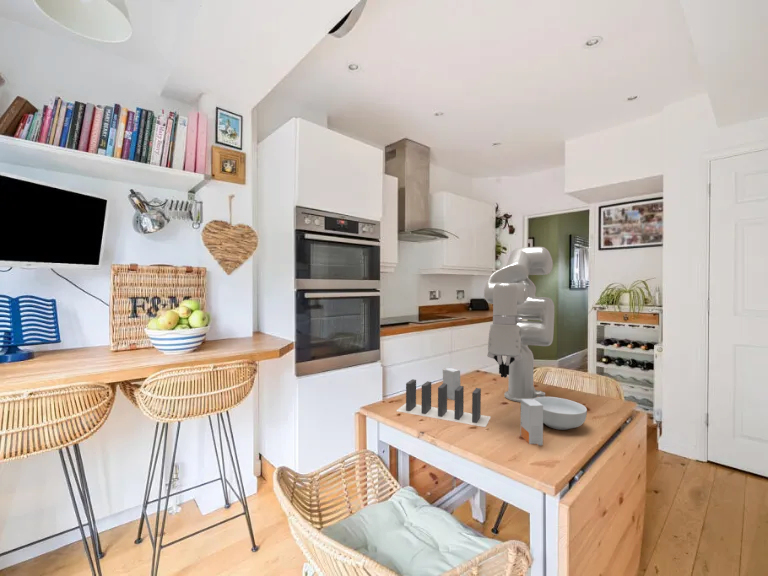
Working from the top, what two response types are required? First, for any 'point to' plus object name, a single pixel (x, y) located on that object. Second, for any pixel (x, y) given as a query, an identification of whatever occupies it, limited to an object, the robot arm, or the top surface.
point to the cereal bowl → (562, 412)
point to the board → (446, 415)
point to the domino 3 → (442, 400)
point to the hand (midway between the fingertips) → (504, 376)
